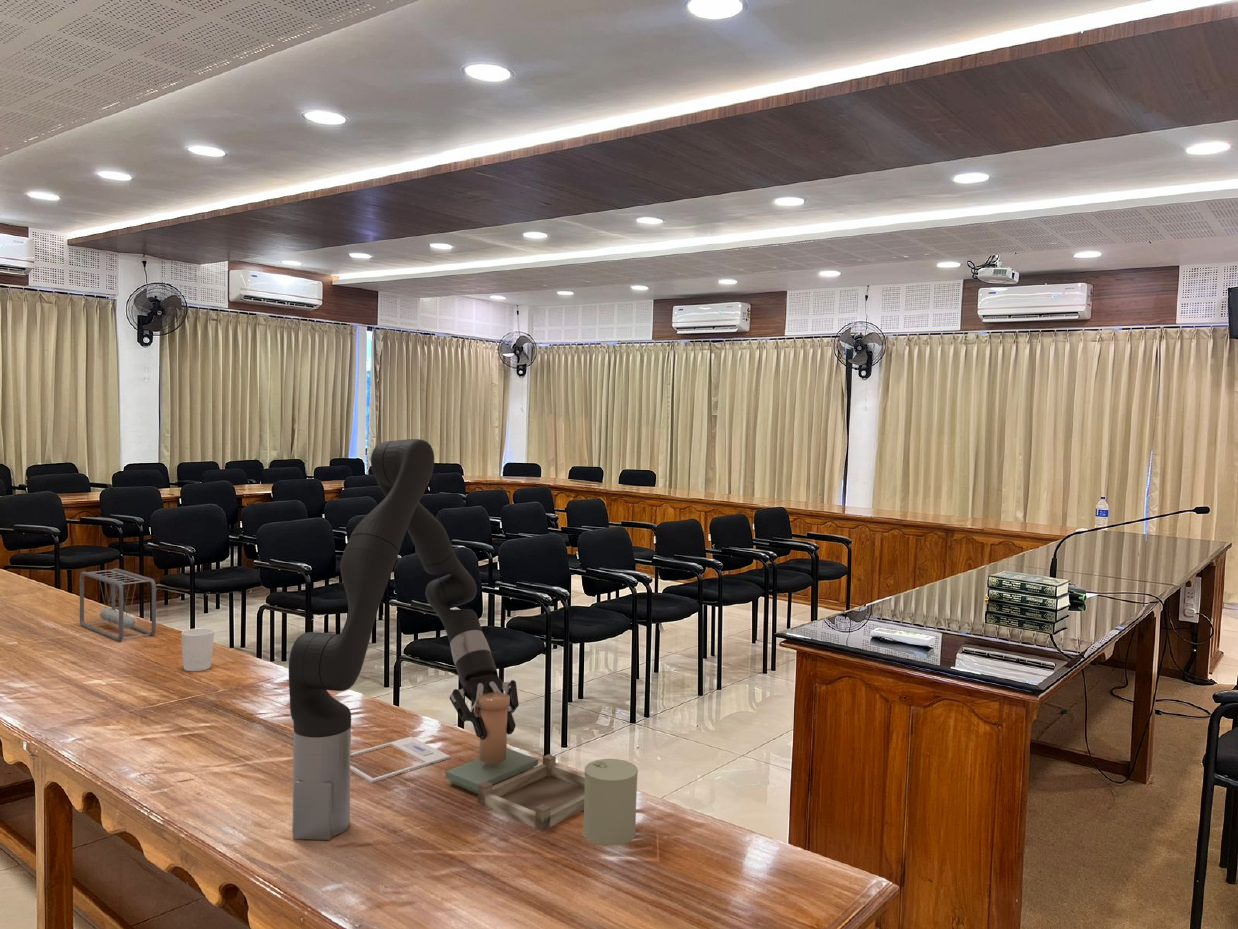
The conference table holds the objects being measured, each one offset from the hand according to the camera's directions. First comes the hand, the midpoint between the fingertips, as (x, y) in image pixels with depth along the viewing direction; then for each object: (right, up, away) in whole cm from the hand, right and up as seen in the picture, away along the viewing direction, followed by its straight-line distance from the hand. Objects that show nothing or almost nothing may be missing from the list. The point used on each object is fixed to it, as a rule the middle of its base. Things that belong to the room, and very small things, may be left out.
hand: (497, 734), depth 166 cm
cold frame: (+10, -10, -7) cm, 16 cm away
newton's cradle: (-134, 0, +104) cm, 170 cm away
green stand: (-1, -9, +2) cm, 10 cm away
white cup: (-91, -4, +68) cm, 114 cm away
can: (+22, -11, -19) cm, 31 cm away
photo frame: (-23, -9, +11) cm, 27 cm away
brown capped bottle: (-1, -5, +2) cm, 6 cm away
